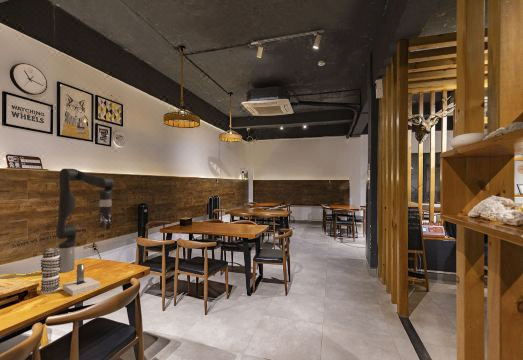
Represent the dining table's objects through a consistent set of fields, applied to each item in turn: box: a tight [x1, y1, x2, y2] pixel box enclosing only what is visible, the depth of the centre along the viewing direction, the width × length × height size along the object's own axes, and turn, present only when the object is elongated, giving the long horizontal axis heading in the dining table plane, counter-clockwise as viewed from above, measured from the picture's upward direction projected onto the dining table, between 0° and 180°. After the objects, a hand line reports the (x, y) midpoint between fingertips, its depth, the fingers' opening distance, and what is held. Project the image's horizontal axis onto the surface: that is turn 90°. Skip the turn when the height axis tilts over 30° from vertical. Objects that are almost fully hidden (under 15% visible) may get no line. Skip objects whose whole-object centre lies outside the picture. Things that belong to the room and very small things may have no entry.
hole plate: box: [61, 276, 101, 297], centre depth 149 cm, size 16×14×3 cm
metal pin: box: [76, 263, 85, 285], centre depth 150 cm, size 4×4×14 cm
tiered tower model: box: [40, 247, 61, 295], centre depth 146 cm, size 9×9×25 cm
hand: (105, 228), depth 173 cm, fingers open, 8 cm apart
